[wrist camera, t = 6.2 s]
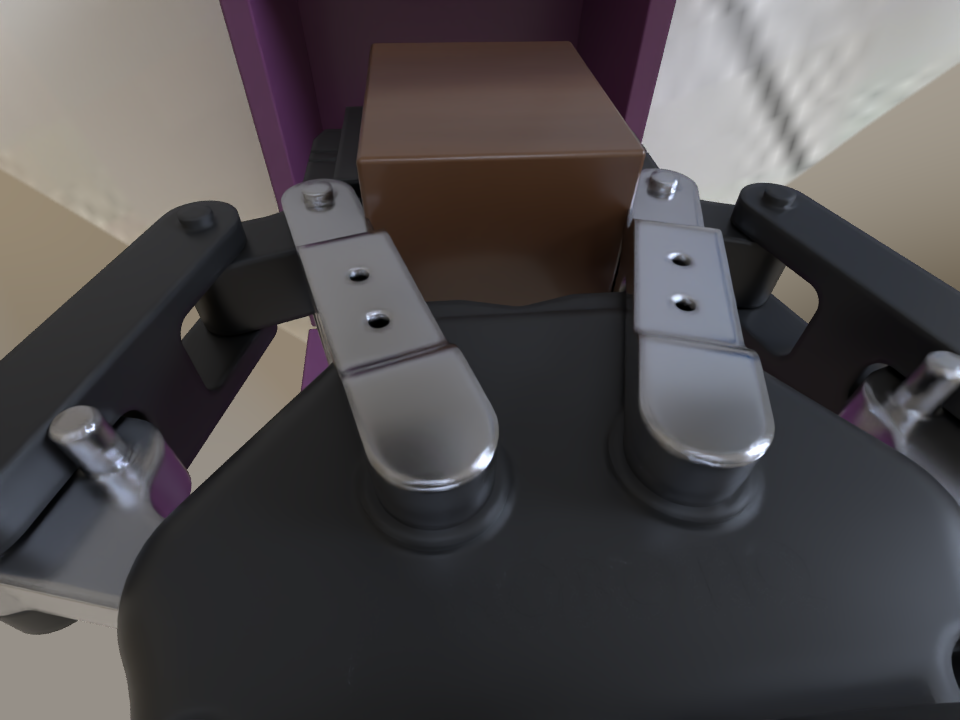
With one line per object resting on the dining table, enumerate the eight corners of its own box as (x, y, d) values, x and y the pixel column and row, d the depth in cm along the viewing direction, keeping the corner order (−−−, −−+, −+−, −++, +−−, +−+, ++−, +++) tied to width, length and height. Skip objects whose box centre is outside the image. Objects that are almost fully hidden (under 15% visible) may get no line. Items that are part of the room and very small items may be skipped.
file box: (245, -164, 17) (176, -146, 12) (620, -155, 18) (710, -135, 13) (328, 226, 28) (311, 327, 23) (563, 217, 29) (600, 311, 24)
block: (369, 42, 11) (354, 159, 8) (571, 40, 12) (649, 150, 8) (391, 221, 15) (387, 366, 11) (549, 215, 15) (597, 353, 11)
